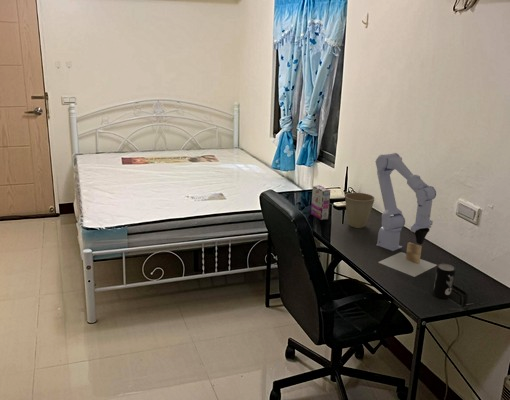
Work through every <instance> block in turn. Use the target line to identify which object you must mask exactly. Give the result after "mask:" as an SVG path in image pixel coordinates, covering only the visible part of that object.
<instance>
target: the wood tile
mask: <svg viewBox="0 0 510 400" xmlns="http://www.w3.org/2000/svg"><path fill="white" fill-rule="evenodd" d="M422 247H423V246H422V245H421V244H418V243H413V242H411V241H410V242H407V245H406V253H405V254H406V260H408V261H411V262H414V263H416V264H419V263H420V259H421V255H422Z"/></svg>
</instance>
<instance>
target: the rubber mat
mask: <svg viewBox="0 0 510 400" xmlns="http://www.w3.org/2000/svg"><path fill="white" fill-rule="evenodd" d="M377 263H378V264H381V265H383V266H385V267H388V268H391V269H393V270H396V271H399V272H401V273H403V274H406V275H408V276H411V277H414V278H415V277H417V276H419V275H421V274H423V273H425V272H427V271H429V270H431V269H433V268H435V267H436V266H438V264H436V263H432V262H430V261H427V260H424V259H421V258H420V263H419V264H416V263H414V262H411V261H408V260H406V253H405V252H403V251H400V252H398V253H396V254H394V255H391V256H388V257H386V258H385V259H382V260H380V261H377Z"/></svg>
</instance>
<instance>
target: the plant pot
mask: <svg viewBox="0 0 510 400" xmlns="http://www.w3.org/2000/svg"><path fill="white" fill-rule="evenodd" d="M344 200H345V210H346V215H347V219H348V223H349V224H348V225H349V226H350V227H353V228H356V229H362V228H364V227H365V226H366V223H367V221H368V220H369V218H370V214H371V212H372V209H373V205H374V202H375V200H376V199H375V196H373V195H371V194H369V193H366V192H365V193H362V192H347V193H346V194H345V195H344Z"/></svg>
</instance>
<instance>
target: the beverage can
mask: <svg viewBox="0 0 510 400" xmlns="http://www.w3.org/2000/svg"><path fill="white" fill-rule="evenodd" d="M437 266H438V267H436V271H435V277H434V278H435V279H434V283H433V285H434V286H433V290H432V293H433V295H434V296H435V297H436V298H438V299H441V298H442V299H441V300H447V299H450V298H451V297H452V294H453V288H454V283H455V276H456V270H455V267H454V266H453V265H451V264H449V263H440V264H437Z"/></svg>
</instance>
